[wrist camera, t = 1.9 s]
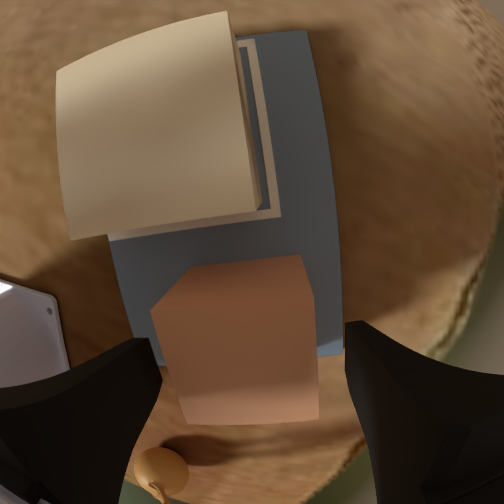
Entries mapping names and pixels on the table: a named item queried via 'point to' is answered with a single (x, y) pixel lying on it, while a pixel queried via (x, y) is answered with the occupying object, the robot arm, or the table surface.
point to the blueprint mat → (272, 193)
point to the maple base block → (156, 130)
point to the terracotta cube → (241, 342)
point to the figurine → (161, 472)
